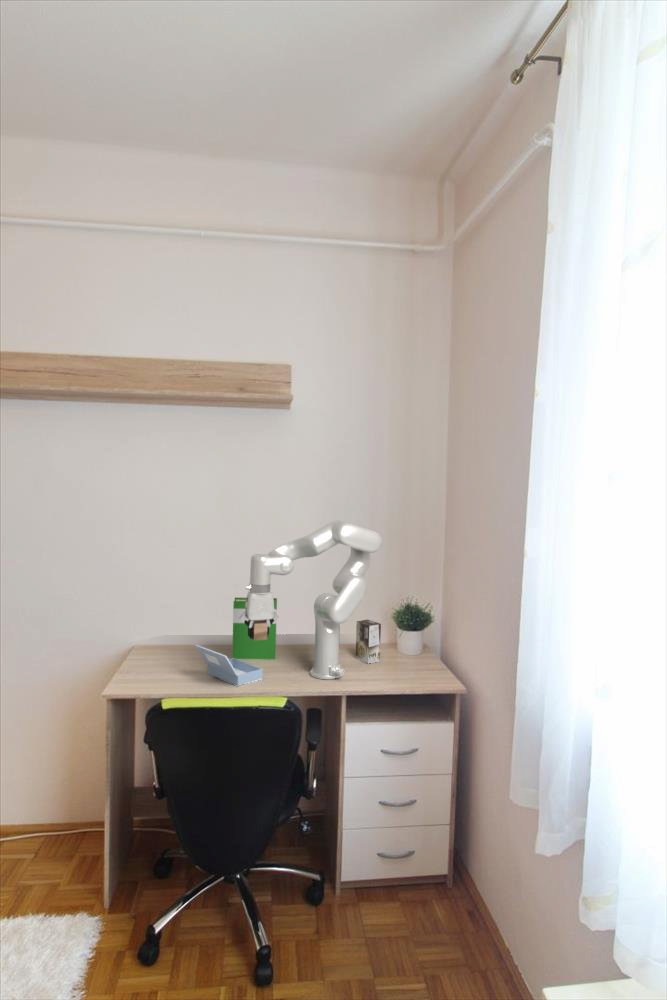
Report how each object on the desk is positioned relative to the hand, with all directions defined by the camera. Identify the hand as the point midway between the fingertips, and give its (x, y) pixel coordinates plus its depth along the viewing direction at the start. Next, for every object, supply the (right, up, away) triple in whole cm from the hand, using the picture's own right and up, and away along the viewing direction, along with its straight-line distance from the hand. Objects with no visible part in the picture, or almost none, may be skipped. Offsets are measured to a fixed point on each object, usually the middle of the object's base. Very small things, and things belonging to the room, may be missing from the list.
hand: (258, 636), depth 245 cm
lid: (-15, -9, +1) cm, 18 cm away
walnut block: (0, -1, 0) cm, 1 cm away
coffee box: (+42, -17, +34) cm, 56 cm away
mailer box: (-10, -17, +8) cm, 21 cm away
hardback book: (-6, -15, +34) cm, 38 cm away
